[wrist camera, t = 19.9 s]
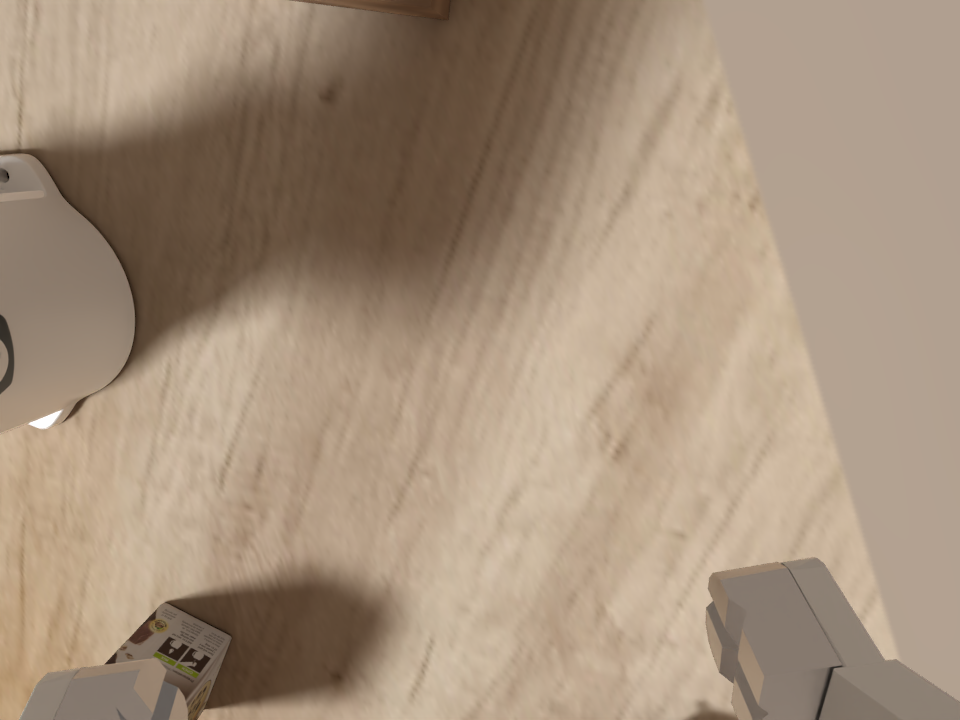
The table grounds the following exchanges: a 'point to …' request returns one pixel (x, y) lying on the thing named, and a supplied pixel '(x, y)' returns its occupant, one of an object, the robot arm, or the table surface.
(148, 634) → the coffee box
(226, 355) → the table surface
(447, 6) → the block
